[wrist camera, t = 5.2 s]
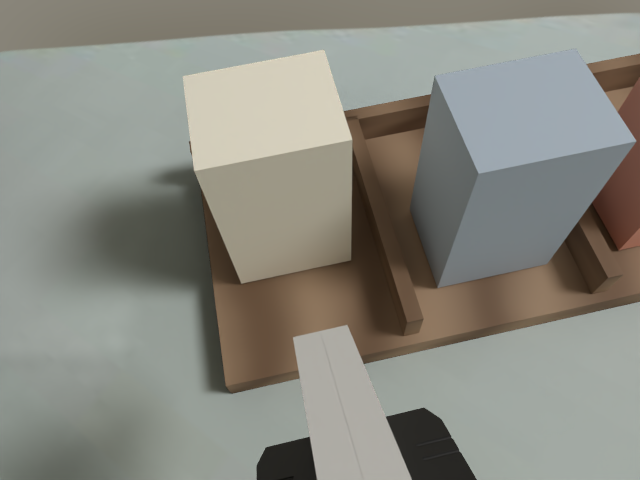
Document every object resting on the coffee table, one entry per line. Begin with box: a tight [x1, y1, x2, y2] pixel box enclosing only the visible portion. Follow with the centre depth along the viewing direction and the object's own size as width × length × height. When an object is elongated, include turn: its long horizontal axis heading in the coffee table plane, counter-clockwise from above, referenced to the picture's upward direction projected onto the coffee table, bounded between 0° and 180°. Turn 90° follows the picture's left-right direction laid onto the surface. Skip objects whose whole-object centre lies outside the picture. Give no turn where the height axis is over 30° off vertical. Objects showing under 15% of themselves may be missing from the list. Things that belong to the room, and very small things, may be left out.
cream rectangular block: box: [183, 50, 352, 284], centre depth 25 cm, size 6×5×10 cm
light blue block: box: [410, 49, 636, 288], centre depth 25 cm, size 6×5×10 cm
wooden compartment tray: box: [189, 54, 640, 393], centre depth 30 cm, size 29×14×4 cm, turn 102°
